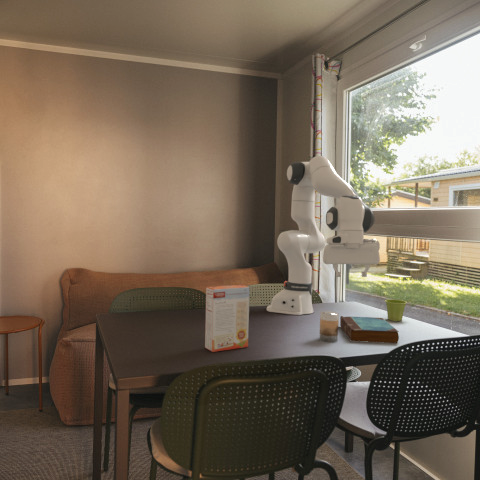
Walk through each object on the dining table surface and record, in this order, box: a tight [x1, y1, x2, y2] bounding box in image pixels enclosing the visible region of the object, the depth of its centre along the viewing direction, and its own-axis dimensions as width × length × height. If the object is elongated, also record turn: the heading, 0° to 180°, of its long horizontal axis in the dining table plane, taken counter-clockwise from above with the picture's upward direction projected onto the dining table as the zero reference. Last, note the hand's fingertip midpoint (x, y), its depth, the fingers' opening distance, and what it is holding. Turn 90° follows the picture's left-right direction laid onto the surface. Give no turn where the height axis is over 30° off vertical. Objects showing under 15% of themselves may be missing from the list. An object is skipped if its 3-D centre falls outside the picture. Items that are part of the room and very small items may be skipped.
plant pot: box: [384, 299, 407, 322], centre depth 206 cm, size 9×9×9 cm
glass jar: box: [318, 310, 339, 343], centre depth 167 cm, size 7×7×10 cm
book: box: [340, 315, 400, 344], centre depth 177 cm, size 23×18×5 cm
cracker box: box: [204, 284, 251, 353], centre depth 152 cm, size 14×6×21 cm, turn 121°
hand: (351, 276), depth 165 cm, fingers open, 8 cm apart
